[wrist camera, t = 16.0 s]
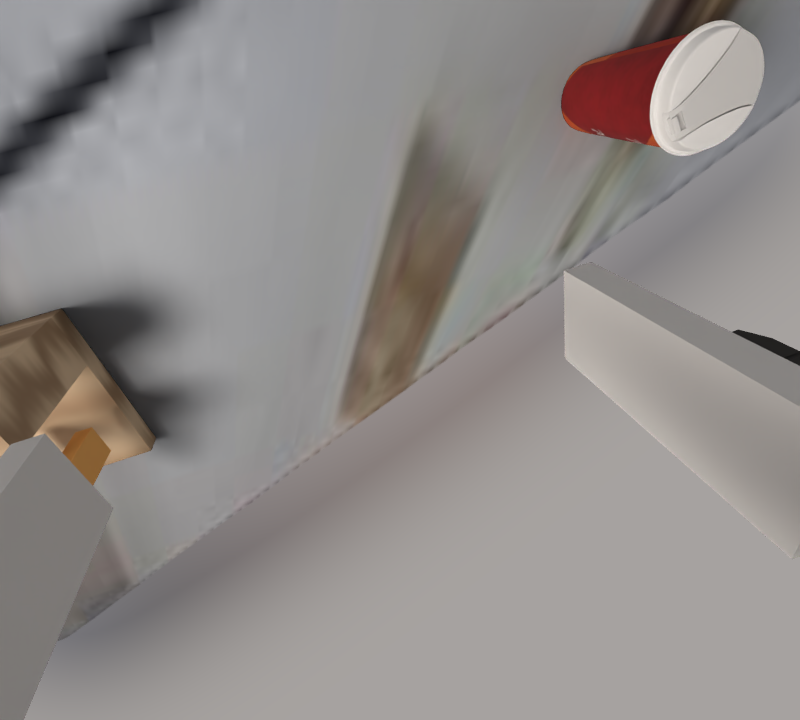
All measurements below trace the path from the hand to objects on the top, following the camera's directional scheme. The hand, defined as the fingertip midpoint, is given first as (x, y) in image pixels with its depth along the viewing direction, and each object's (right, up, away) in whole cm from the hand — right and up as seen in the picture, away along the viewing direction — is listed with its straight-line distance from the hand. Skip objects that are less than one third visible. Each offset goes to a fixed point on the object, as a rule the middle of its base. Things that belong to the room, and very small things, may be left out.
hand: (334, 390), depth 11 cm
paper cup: (+19, +25, +29) cm, 42 cm away
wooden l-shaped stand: (-31, -3, +31) cm, 44 cm away
